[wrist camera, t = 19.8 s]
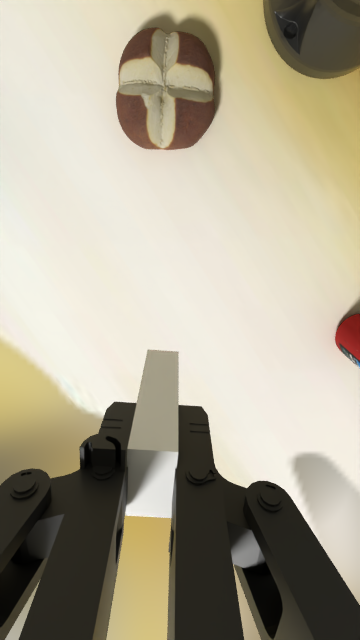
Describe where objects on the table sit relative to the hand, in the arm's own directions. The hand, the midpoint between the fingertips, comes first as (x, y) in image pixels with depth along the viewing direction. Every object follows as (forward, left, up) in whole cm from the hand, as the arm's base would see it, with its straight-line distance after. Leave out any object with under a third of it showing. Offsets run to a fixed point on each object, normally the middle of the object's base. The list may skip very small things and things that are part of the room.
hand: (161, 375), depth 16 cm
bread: (-19, -2, -30) cm, 36 cm away
